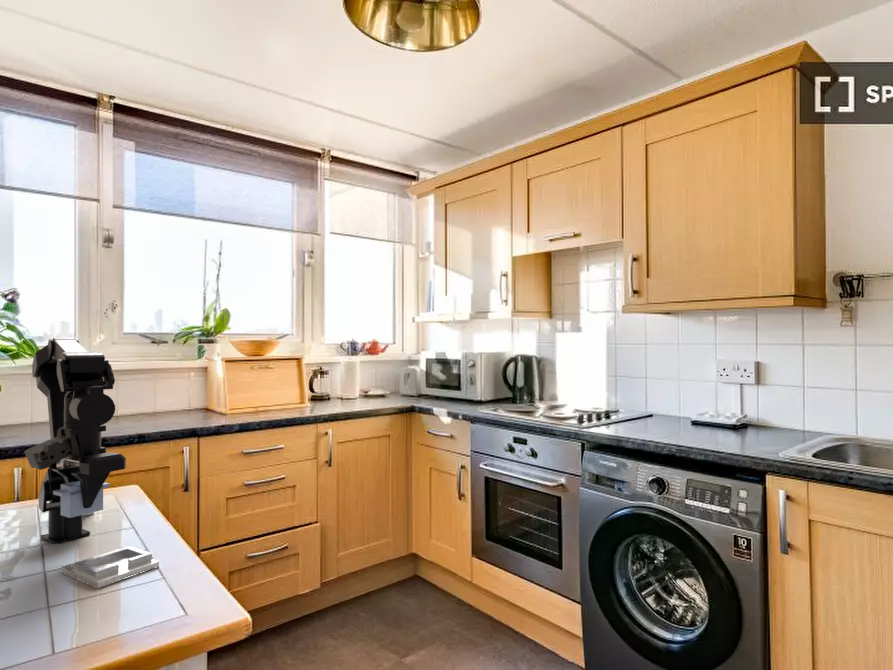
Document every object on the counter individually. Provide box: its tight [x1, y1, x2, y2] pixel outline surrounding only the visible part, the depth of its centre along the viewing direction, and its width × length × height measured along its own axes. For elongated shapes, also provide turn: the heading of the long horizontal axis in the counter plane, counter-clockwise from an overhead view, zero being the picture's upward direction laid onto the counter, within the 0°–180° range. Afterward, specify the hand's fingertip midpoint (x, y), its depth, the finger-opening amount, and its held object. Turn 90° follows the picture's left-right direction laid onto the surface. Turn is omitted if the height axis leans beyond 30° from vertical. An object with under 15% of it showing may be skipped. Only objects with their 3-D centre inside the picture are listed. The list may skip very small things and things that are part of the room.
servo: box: [53, 481, 111, 518], centre depth 101 cm, size 8×3×6 cm, turn 149°
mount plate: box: [60, 545, 160, 589], centre depth 95 cm, size 12×10×2 cm
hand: (82, 506), depth 101 cm, fingers closed on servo, 3 cm apart
